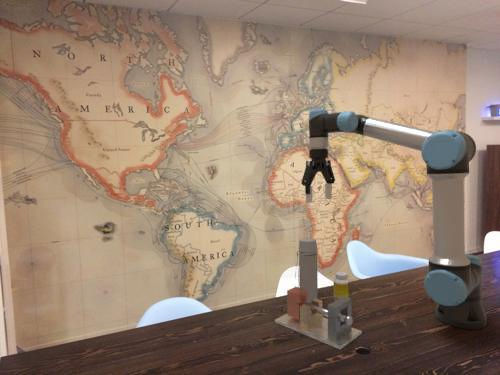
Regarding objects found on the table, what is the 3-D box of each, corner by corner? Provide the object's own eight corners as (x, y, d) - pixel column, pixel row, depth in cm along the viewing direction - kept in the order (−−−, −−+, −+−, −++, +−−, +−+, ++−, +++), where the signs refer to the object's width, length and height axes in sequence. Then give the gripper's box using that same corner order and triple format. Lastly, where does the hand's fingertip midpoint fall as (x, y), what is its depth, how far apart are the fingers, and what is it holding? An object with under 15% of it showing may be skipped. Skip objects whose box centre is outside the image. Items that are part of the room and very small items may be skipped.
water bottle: (317, 297, 145) (316, 237, 143) (318, 305, 137) (318, 242, 135) (294, 297, 146) (293, 237, 144) (295, 304, 138) (294, 242, 136)
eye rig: (361, 333, 114) (361, 299, 113) (340, 349, 105) (340, 312, 104) (297, 310, 133) (297, 280, 132) (274, 322, 124) (274, 290, 123)
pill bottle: (351, 303, 138) (351, 275, 137) (335, 303, 138) (335, 276, 137) (347, 297, 144) (347, 270, 143) (332, 297, 144) (332, 271, 144)
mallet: (356, 332, 111) (356, 305, 110) (348, 338, 107) (348, 310, 107) (296, 310, 128) (295, 286, 127) (287, 315, 124) (287, 290, 124)
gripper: (328, 149, 154) (328, 197, 156) (291, 148, 137) (292, 203, 139) (343, 148, 149) (343, 198, 150) (307, 148, 131) (308, 204, 133)
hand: (319, 200), depth 144 cm, fingers open, 13 cm apart
